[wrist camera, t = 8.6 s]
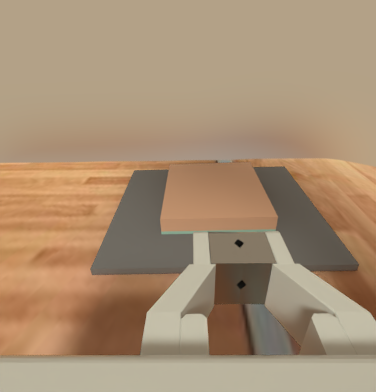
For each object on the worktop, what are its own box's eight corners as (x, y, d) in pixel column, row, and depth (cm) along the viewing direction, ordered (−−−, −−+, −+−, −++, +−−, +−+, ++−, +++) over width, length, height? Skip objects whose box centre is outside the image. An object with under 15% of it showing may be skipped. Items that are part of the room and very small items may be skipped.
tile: (160, 219, 23) (169, 164, 33) (161, 234, 23) (170, 175, 34) (278, 216, 22) (250, 161, 33) (275, 232, 23) (249, 173, 34)
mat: (92, 274, 20) (90, 269, 20) (134, 174, 36) (134, 170, 36) (356, 270, 20) (359, 264, 20) (283, 170, 36) (284, 166, 35)
